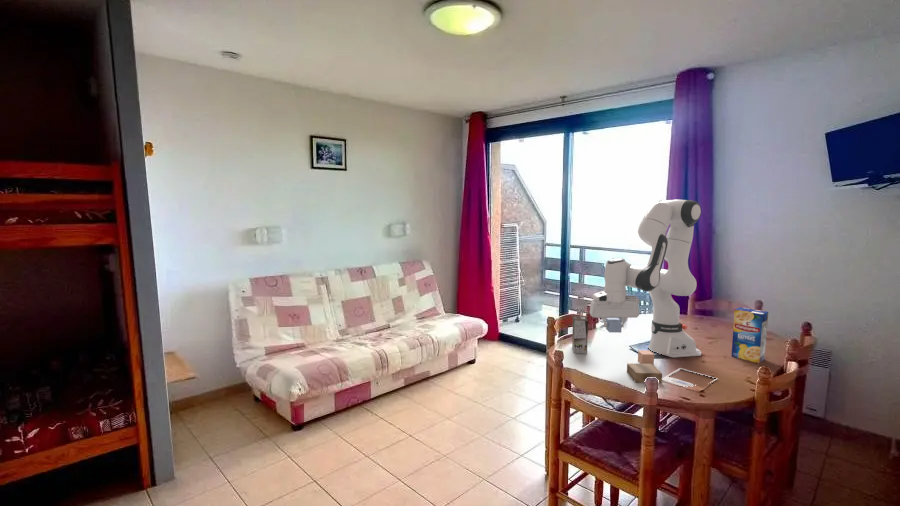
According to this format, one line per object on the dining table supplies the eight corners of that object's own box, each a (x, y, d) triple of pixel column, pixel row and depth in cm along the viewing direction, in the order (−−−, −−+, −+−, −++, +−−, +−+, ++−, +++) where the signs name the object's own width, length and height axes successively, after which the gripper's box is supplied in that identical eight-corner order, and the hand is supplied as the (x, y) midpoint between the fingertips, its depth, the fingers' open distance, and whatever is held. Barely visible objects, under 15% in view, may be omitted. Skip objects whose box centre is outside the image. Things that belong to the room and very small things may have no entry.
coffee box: (587, 353, 202) (588, 320, 200) (573, 353, 204) (574, 320, 202) (585, 347, 211) (586, 315, 209) (571, 346, 212) (572, 315, 210)
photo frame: (660, 378, 172) (679, 367, 183) (660, 381, 172) (679, 369, 183) (699, 391, 160) (718, 378, 172) (699, 393, 161) (717, 380, 172)
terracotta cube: (649, 361, 192) (649, 350, 192) (653, 365, 187) (654, 354, 187) (637, 361, 193) (638, 350, 192) (642, 365, 188) (642, 354, 187)
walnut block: (651, 372, 179) (651, 363, 179) (661, 382, 169) (662, 373, 169) (626, 372, 180) (627, 363, 179) (635, 382, 170) (636, 373, 169)
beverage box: (759, 363, 188) (763, 314, 185) (731, 356, 197) (734, 309, 194) (764, 359, 192) (768, 311, 189) (737, 353, 201) (740, 307, 198)
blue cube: (617, 329, 189) (617, 318, 188) (621, 332, 184) (621, 321, 183) (606, 329, 189) (606, 317, 189) (609, 332, 184) (609, 321, 184)
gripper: (636, 294, 187) (635, 325, 189) (589, 294, 189) (588, 324, 190) (642, 297, 181) (640, 329, 183) (592, 297, 182) (592, 329, 184)
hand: (613, 327), depth 187 cm, fingers closed on blue cube, 5 cm apart
